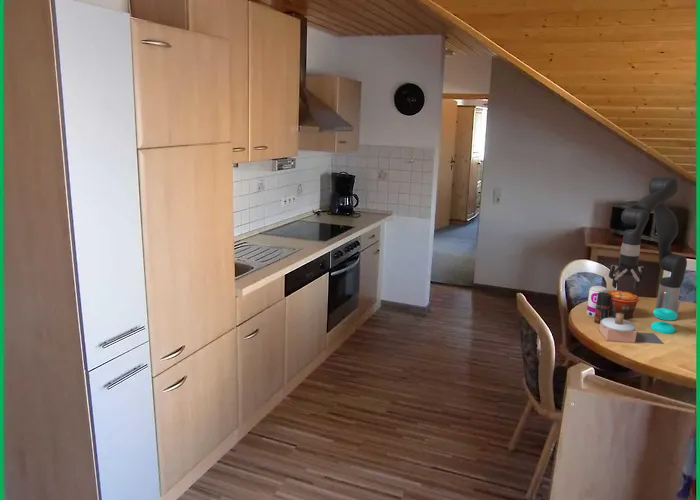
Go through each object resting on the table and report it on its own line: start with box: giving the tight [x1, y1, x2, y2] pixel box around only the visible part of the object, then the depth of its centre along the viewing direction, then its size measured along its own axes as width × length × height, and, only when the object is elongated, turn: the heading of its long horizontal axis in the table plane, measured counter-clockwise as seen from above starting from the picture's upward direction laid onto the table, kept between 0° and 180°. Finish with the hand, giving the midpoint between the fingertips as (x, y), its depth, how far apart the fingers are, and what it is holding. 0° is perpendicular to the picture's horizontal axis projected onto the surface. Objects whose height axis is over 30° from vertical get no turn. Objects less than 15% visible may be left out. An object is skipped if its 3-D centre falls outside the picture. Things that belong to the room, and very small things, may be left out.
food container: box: [607, 289, 640, 320], centre depth 281 cm, size 16×16×11 cm
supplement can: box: [586, 285, 608, 319], centre depth 278 cm, size 8×8×15 cm
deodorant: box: [593, 292, 611, 325], centre depth 268 cm, size 6×6×15 cm
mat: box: [635, 331, 665, 345], centre depth 252 cm, size 12×12×1 cm
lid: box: [602, 313, 637, 332], centre depth 250 cm, size 14×14×6 cm
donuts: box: [650, 308, 678, 334], centre depth 261 cm, size 10×10×10 cm
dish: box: [598, 320, 638, 344], centre depth 252 cm, size 12×12×6 cm
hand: (624, 288), depth 247 cm, fingers open, 8 cm apart
